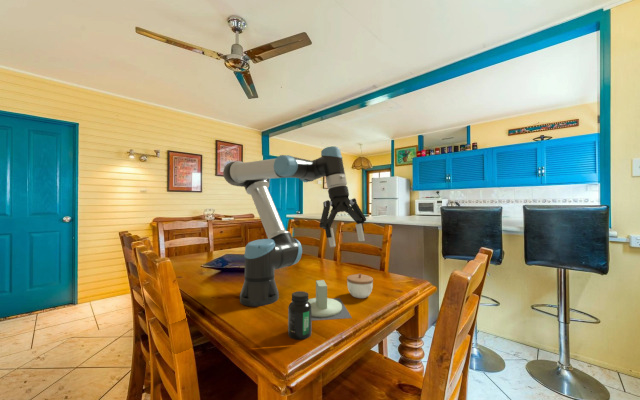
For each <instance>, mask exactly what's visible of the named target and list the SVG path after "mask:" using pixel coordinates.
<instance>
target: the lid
mask: <svg viewBox="0 0 640 400" xmlns="http://www.w3.org/2000/svg"><path fill="white" fill-rule="evenodd" d="M308 302H309V303H310V304H311V306H312V317H318V318H325V317H332V316H335V315H338V314H339V313H340V312H341V311H342V304H341V303H340V302H339V301H337V300H334V298H329V297H328V285H327V283H326V282H325V280H324V279H320V280H315V297H313V298H309V300H308Z"/></svg>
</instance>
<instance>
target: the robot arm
mask: <svg viewBox="0 0 640 400" xmlns="http://www.w3.org/2000/svg"><path fill="white" fill-rule="evenodd" d="M343 161H344V160H343V156H342V153H341V149H340V148H339V147H338V146H327V147H324V148H323V149H322V150H321V151H320V157H318V158H316V159H313V160H310V159H307V158H306V159H304V158H301V157H297V156H292V155H290V154H289V155H288V154H287V155H286V154H281V155H280V154H279V156H277V157H276V158H270V159H264V160H263V159H262V160H254V161H247V162H245V161H241V160H238V161H237V160H235V161H230V162H228V163H227V164H226V165H225V166H224V168H223V171H222V174H223V178H224V180H225V181H226V182H227V183H228V184H229V185H231V186H235V187H244V189H245V192H246V193H247V195H250V196H251V198H252V201H253V203H254V205H255V209H256V211H257V213H258V216H259V218H260V221H261V223H262V227H263V228H264V231H265V234H266V237H267V238H262V239H256V240H252V241H249V242H248V243H247V244H246V245H245V248H244V254H243V256H244V280H243V281H244V282H243V284H242V287H241V290H240V294H239V303H240V304H241V305H243V306H246V307H263V306H269V305H271V304H274V303H276V302H277V301H278V300H279V297H280V295H279V289H278V287H277V284H276V283H277V282H276V280H275V271H276V270H279V269H283V268H287V267H291V266H293V265H296V264H298V263H299V261H300V260H301V258H302V254H303V247H302V244H301V242H300V241H299V240H298V239H297V238H293V236H292V233H291V232H290V231H288V230H286V228H285V226H284V224H283V221H282V219H281V216H280V213H279V212H278V209H277V207H276V205H275V202H274V200H273V197H272V195H271V193H270V189H269V187H270V183H271V179H281V178H282V179H284V178H285V179H286V178H292V179H293V178H294V179H295V178H296V179H299V180H300V181H302V182H303V183H309V182H314V181H316V180H318V179H321V178H324V177H325V182H326V188H327V189H328V190H327V192H328V198H329V199H330V200H325V201H323V203H322V204H323V209H322V213H321V218H320V222H319V228H322V229H323V230H324V231H325V236H326V239H328V245H329V248H335V247H337V246H336V245H337V244H336V239H335V232H334V228H333V227H332V225H333V223H334V221H335V218H336V217H337V214H338V213H344V212H345V213H347V215H349V217H350V218H352V220H353V221H354V222H355V223H356V224H355V228H356V233H357V239H358V242H365V235H364V234H365V233H364V232H365V230H364V229H365V228H364V223H365V222H366V221H367V218H366V216H365V215H364V213H363V212H362V209H361V208H360V206H359V205H358V203H357V199H356V198H351V199H350V198H349V195H350V193H349V188H348V185H347V184H348V182H347V177H346V173H345V167H344V162H343ZM331 207H332V208H331ZM330 209H331V210H330Z"/></svg>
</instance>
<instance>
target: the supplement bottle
mask: <svg viewBox="0 0 640 400" xmlns="http://www.w3.org/2000/svg"><path fill="white" fill-rule="evenodd" d="M309 299H310V298H309V292H307V291H301V290H299V291H298V290H297V291H293V292H292V294H291V302H290V303H289V305H288V309H287V311H288V313H287V315H288V317H287V320H288V321H287V326H288V327H287V331H288V332H287V333H288V337H289V338H290V339H293V340H296V341H297V340H298V341H302V340H306V339H309V338H310V337H311V336H312V330H313V328H312V325H313V324H312V323H313V322H312V306H311V304H310V303H309V302H308V300H309Z"/></svg>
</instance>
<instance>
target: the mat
mask: <svg viewBox="0 0 640 400" xmlns="http://www.w3.org/2000/svg"><path fill="white" fill-rule="evenodd" d="M333 299H334V300H337V301H339V302H340V303H341V304H342V311H341V312H340V313H339V314H338V315H335V316H332V317H325V318H318V317H312V321H327V320H329V321H330V320H342V319H353V318H352V316H351V314H350V312H349V310H348V309H347V307H346V306H345V304H344V303H343V301H342V299H341V298H340V297H338V298H337V297H336V298H333Z"/></svg>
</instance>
